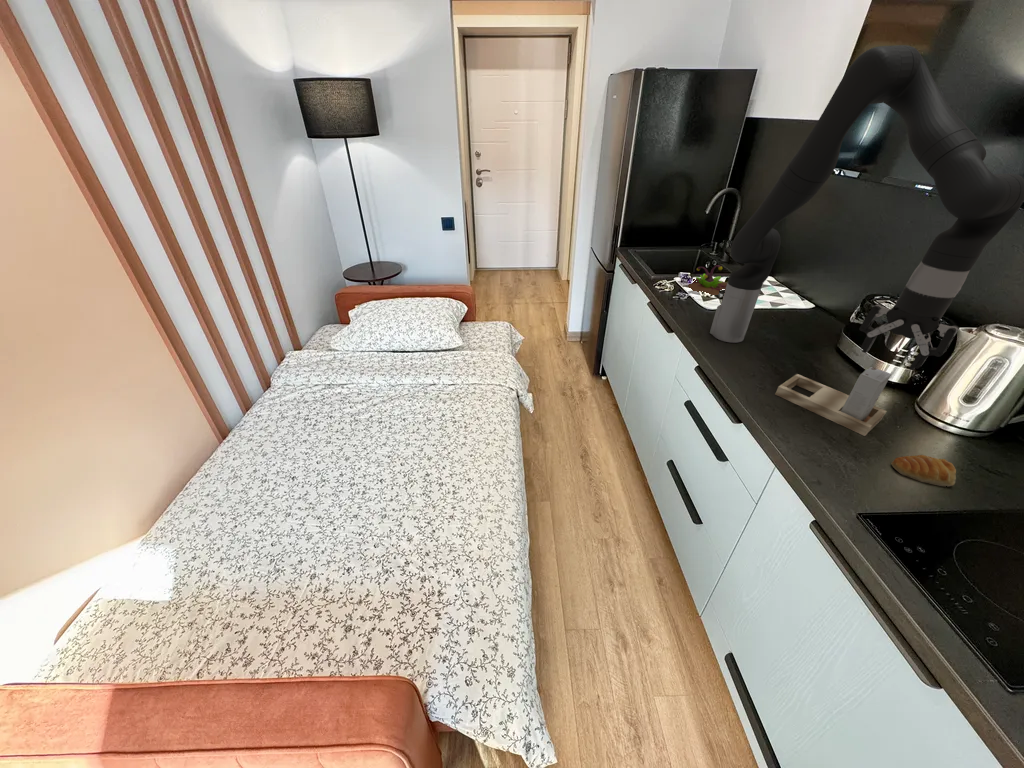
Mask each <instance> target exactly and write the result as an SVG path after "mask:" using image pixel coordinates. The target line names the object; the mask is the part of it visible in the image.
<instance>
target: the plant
mask: <svg viewBox="0 0 1024 768" xmlns="http://www.w3.org/2000/svg"><path fill="white" fill-rule="evenodd" d="M716 268H717V269H718V271H722V270H723V266H722V265H719V264H716V265H714V266H713V267H712V268H711V270H710V272H709V270H708V269H707V268H706V267H704V266H698V267H697V268H696V271H697V272H699V271H700V270H701V269H703V270H704V272H705V273H703V274H700V275H699V276H700V277H699V276H695V278H696V280H695V279H693V281H694V280H695V281H694V282H693V283H692V284H689V285H688V287H689V288H691V289H692V290H693V291H697V292H699V291H701V292H702V291H703V292H706V293H709V294H711V295H718V294H719V291H720V290H722V289H726V286H727V282H724V281H723V280H721V279H722V276H721V275H718V276H716V277H715V276H714V271H715V269H716ZM713 276H714V277H713ZM696 281H697V282H696Z"/></svg>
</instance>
